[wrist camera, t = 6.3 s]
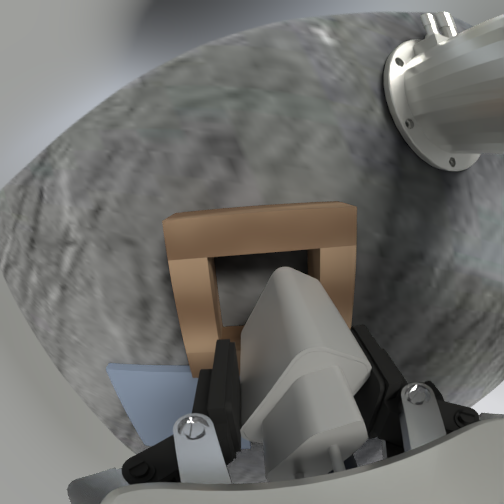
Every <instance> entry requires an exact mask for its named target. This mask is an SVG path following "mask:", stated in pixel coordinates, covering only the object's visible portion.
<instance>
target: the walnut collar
mask: <svg viewBox="0 0 504 504" xmlns="http://www.w3.org/2000/svg"><path fill="white" fill-rule="evenodd" d="M162 223H163V230H164V238H165V245H166V251H167V258H168V264H169V270H170V276H171V282H172V287H173V293H174V298H175V303H176V308H177V313H178V318H179V323H180V327H181V332H182V336H183V341H184V345H185V349H186V354H187V358H188V362H189V366H190V370H191V374H192V377H193V378H198V377H199V372H200V370H201V369H213V362H214V355H215V348H216V341H217V340H219V339H230V342H235V346H236V354H237V362H238V369H239V376H240V356H241V332H242V330H243V328H244V326H245V325H243V326H229V327H223V325H222V318H221V310H220V303H219V295H218V287H217V279H216V271H215V262H214V257H219V256H232V255H244V254H257V253H269V252H281V251H294V250H306V249H307V250H308V275H309V276H311V277H313V278H315V279H317V280H318V281H319V282H320V283H321V284H322V286H323V288H324V289H325V291H326V292H327V294H328V295H329V297H330V299H331V300H332V302H333V303H334V305H335V306H336V308H337V310H338V311H339V313H340V315H341V316H342V318H343V319H344V321H345V323H346V324H347V326H348V327H349V329H350V328H351V322H352V312H353V300H354V287H355V270H356V245H357V207H356V206H353V205H349V204H346V203H342V202H339V201H333V202H310V203H292V204H275V205H261V206H247V207H235V208H223V209H212V210H201V211H191V212H182V213H175V214H173V215H171V216H170V217H168V218H166V219H165V220H163V221H162Z"/></svg>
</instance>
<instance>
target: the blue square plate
mask: <svg viewBox="0 0 504 504" xmlns="http://www.w3.org/2000/svg"><path fill="white" fill-rule="evenodd" d="M106 371H107V373H108V376H109V378H110V380H111V382H112V384H113V387H114V389H115V391H116V393H117V395H118V397H119V399H120V401H121V403H122V405H123V407H124V409H125V411H126V413H127V415H128V417H129V418H130V420H131V422H132V424H133V426H134V427H135V429H136V431H137V433H138V434H139V436H140V438H141V439H142V441H143V443H144V444H145V445H147V446H154V445H155V444H157V443H159V442H161V441H162V440H164V439H166V438H168V437H169V436H171V435H173V426H174V424H175V422H176V421H177V420H178V419H179V418H180V417H182V416H184V415H187V414H190V413H192V409H193V403H194V398H195V393H196V388H197V382H198V378H193V377H192V374H191V370H190V366H189V365H188V366H166V365H134V364H117V363H109V364H108V366H107V367H106ZM241 449H251V443H250V441H248V440H246V439H244V438H243V437H241Z"/></svg>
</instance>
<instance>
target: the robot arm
mask: <svg viewBox="0 0 504 504" xmlns="http://www.w3.org/2000/svg"><path fill="white" fill-rule="evenodd" d="M434 16H435V19H436V22H437V24H436V22H435V19H434ZM434 16H432V15H430V14H423V15H421V16H420V18H421V20H422V23H423V26H424V29H425V30H426V33H427V35H426V36H425V39H423V40H409V41H406V42H404V43H402V44H401V45H399V46H398V47H396V48H395V49H394V50H393V51H392V52H391V53H390V55H389V57H388V59H387V61H386V64H385V69H384V90H385V97H386V101H387V104H388V107H389V111H390V113H391V116H392V118H393V120H394V122H395V125H396V127H397V128H398V130H399V132H400V133H401V135H402V137H403V138H404V140H405V141H406V142H407V144H408V145H409V146H410V148H411V149H412V150H413V151H414V152H415V153H416V154H417V155H418V156H419V157H420V158H421V159H422V160H424V161H425V162H427V163H428V164H429V165H431V166H433V167H436V168H438V169H440V170H446V171H461V170H465V169H467V168H469V167H470V166H472V165H473V164H474V163H475V162H476V161H477V159H478V158H479V156H480V154H504V14H503V15H500V16H498V17H495V18H492V19H490V20H488V21H485V22H483V23H481V24H478V25H476V26H474V27H472V28H470V29H467V30H465V31H463V32H461V33H459V34H458V33H457V28H456V25H455V23H454V20H453V18H452V16H451V14H449V13H447V12H438V13H436V14H435V15H434ZM437 25H438V27H439V30H440V32H441V33H442V35H440V34H439V32H438V27H437ZM350 331H351V332H352V334H353V336H354V337H355V339H356V341H357V342H358V344H359V346H360V347H361V349H362V351H363V352H364V354H365V356H366V357H367V359H368V361H369V362H370V364H371V367H372V369H371V373H370V376H369V378H368V379H367V381H366V382H365V383H364V384H363V386H362V387H361V388H360V389H359V390H358V391H357V393H356V394H355V395H354V396H353V397H354V399H355V402H356V404H357V406H358V409H359V411H360V413H361V416H362V418H363V420H364V423H365V426H366V430H367V434H368V437H369V439H371V438H375V437H378V438H379V439H382V455H383V460H381V461H378V462H374V463H371V464H367V465H364V466H360V467H356V468H353V469H349V470H344V471H340V472H335V473H331V474H326V475H320V476H315V477H309V478H302V479H295V480H287V481H278V482H266V483H249V484H232V481H231V478H230V475H229V472H228V469H227V466H226V465H228V464H229V463H230V462H232V461H233V458H236V452H238V451H241V432H240V376H239V369H238V362H237V354H236V346H235V342H230V339H219V340H217V341H216V348H215V355H214V362H213V369H201V370H200V372H199V377H198V382H197V388H196V393H195V398H194V403H193V409H192V413H190V414H187V415H184V416H182V417H180V418H179V419H178V420H177V421H176V422H175V424H174V426H173V435H171V436H169V437H168V438H166V439H164V440H162V441H161V442H159V443H157V444H155V445H154V446H152V447H150V448H148V449H146V450H144V451H142V452H141V453H139V454H137V455H135V456H133V457H131V458H129V459H128V460H127V461H126V462H125V463H124V464H123V466H122V468H120V469H117V470H116V468H112V469H109V470H106V471H103V472H100V473H96V474H93V475H90V476H86V477H82V478H79V479H76V480H74V481H72V482H71V483H70V484H69V485H68V489H67V491H68V496H69V499H70V502H71V504H504V415H503V414H489V413H481V414H480V415H478V413H477V412H476V411H475V410H473V409H471V408H469V407H465V406H461V405H457V404H453V403H449V402H445V401H441V400H437V399H436V398H435V395H434V392H433V390H432V389H431V388H430V387H429V386H428V385H426V384H423V383H419V382H414V383H410V384H408V383H407V382H406V380H405V379H404V377H403V376H402V374H401V373H400V371H399V370H398V368H397V367H396V366H395V364H394V363H393V361H392V360H391V358H390V357H389V355H388V354H387V352H386V351H385V350H384V349H381V348H380V347H379V345H378V344H377V342H376V341H375V340H374V338H373V337H372V335H371V334H370V332H369V331H368V330H367V328H366V327H365V325H357V326H352V327H351V328H350Z"/></svg>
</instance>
